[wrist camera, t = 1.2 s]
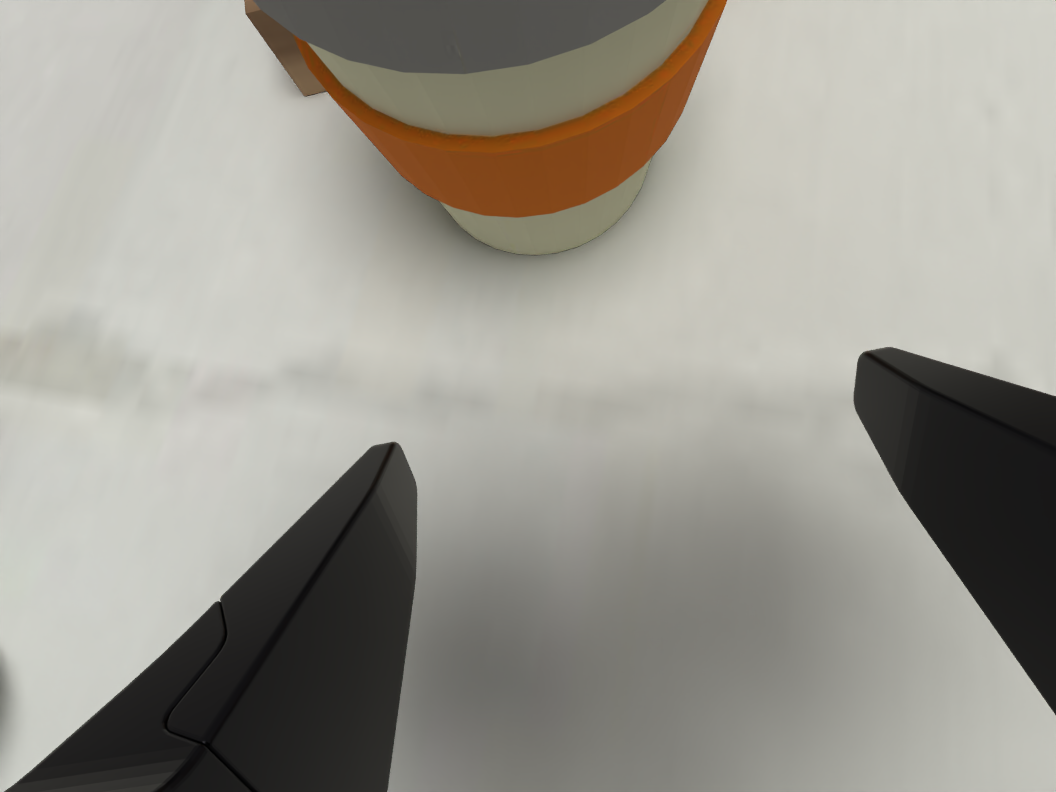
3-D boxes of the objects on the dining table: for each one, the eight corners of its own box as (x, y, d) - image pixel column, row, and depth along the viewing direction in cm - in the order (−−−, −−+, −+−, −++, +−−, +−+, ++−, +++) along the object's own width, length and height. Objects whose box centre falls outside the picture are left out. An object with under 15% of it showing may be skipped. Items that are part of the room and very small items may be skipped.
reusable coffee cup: (760, 184, 23) (1031, -378, 9) (488, 358, 23) (294, 92, 9) (584, -28, 26) (561, -721, 11) (342, 126, 26) (9, -369, 11)
